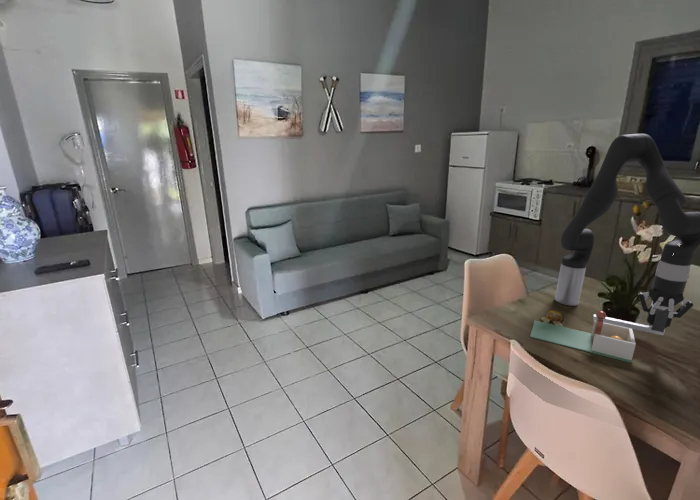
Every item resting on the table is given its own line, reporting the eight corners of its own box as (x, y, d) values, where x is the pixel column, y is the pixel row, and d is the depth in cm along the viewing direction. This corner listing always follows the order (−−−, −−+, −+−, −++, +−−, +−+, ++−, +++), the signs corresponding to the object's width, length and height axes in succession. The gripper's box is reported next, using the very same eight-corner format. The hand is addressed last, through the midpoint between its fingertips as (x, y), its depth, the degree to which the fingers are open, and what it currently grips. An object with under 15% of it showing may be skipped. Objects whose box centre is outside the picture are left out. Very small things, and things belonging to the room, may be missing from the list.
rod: (588, 337, 130) (597, 294, 124) (655, 353, 120) (668, 307, 115) (588, 343, 126) (598, 299, 121) (657, 359, 117) (671, 312, 112)
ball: (613, 346, 126) (604, 336, 127) (626, 342, 124) (617, 331, 124) (613, 353, 123) (605, 342, 123) (627, 348, 120) (618, 337, 121)
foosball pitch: (534, 321, 143) (536, 306, 141) (627, 342, 128) (631, 326, 126) (529, 337, 132) (532, 321, 130) (631, 363, 116) (636, 345, 115)
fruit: (539, 321, 143) (540, 313, 142) (544, 314, 149) (546, 306, 148) (562, 328, 138) (564, 320, 137) (567, 320, 144) (569, 312, 143)
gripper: (698, 276, 110) (683, 326, 115) (641, 268, 117) (629, 315, 123) (705, 284, 104) (688, 336, 109) (644, 275, 111) (631, 324, 117)
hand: (657, 325), depth 116 cm, fingers closed on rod, 3 cm apart
